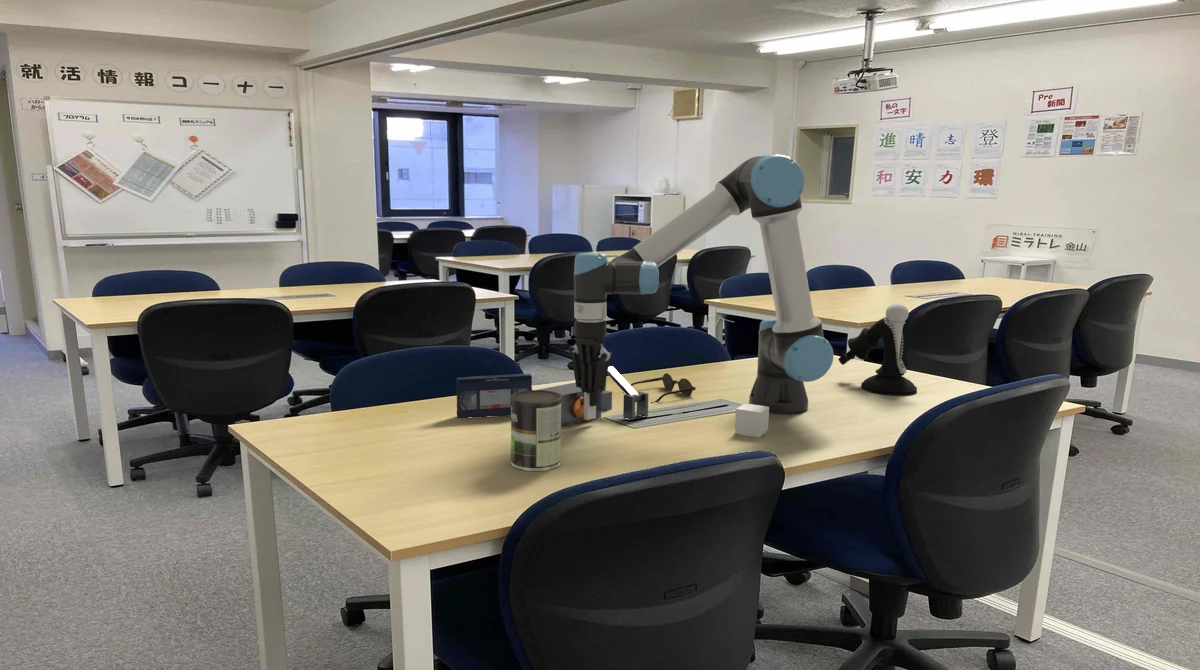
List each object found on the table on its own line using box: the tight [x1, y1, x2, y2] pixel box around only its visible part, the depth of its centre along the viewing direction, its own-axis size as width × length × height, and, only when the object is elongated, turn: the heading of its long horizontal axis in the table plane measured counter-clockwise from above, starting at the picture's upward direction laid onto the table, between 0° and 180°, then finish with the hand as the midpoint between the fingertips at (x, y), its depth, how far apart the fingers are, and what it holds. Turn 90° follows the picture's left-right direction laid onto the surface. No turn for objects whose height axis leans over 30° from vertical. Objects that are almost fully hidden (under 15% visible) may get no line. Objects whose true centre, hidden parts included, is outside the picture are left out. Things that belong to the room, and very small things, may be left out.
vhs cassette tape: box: [455, 373, 533, 419], centre depth 200 cm, size 18×3×10 cm, turn 105°
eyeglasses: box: [622, 372, 697, 404], centre depth 224 cm, size 15×15×5 cm
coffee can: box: [510, 389, 562, 472], centre depth 165 cm, size 10×10×14 cm
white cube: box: [734, 403, 770, 438], centre depth 190 cm, size 6×6×6 cm
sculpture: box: [838, 303, 918, 397], centre depth 236 cm, size 15×24×25 cm, turn 45°
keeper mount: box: [601, 390, 649, 420], centre depth 204 cm, size 14×6×6 cm, turn 43°
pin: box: [572, 396, 584, 419], centre depth 199 cm, size 13×5×5 cm, turn 43°
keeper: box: [607, 365, 644, 403], centre depth 203 cm, size 12×3×2 cm, turn 43°
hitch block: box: [537, 382, 602, 427], centre depth 198 cm, size 8×14×8 cm, turn 133°
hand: (589, 418), depth 193 cm, fingers closed
